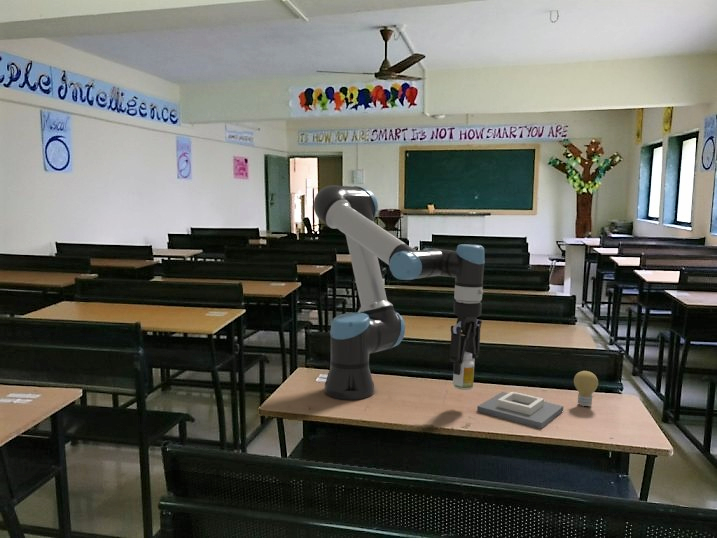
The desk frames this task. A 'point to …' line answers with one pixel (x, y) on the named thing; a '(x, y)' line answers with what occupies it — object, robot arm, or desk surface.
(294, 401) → the desk surface
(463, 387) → the supplement bottle
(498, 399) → the holder board
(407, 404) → the desk surface
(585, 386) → the light bulb
